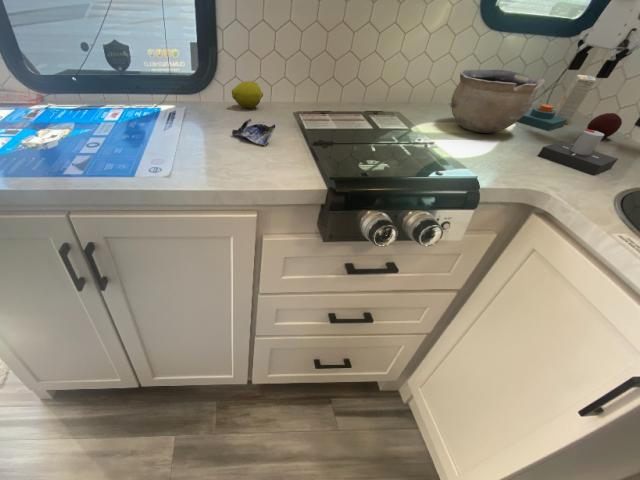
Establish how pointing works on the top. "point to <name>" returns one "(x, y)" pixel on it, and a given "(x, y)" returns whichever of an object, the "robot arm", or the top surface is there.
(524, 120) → the block
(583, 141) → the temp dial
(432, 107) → the top surface
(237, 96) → the lemon
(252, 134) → the snack package
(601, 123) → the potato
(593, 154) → the dial base
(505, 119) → the ceramic bowl
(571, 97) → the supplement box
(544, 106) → the button
